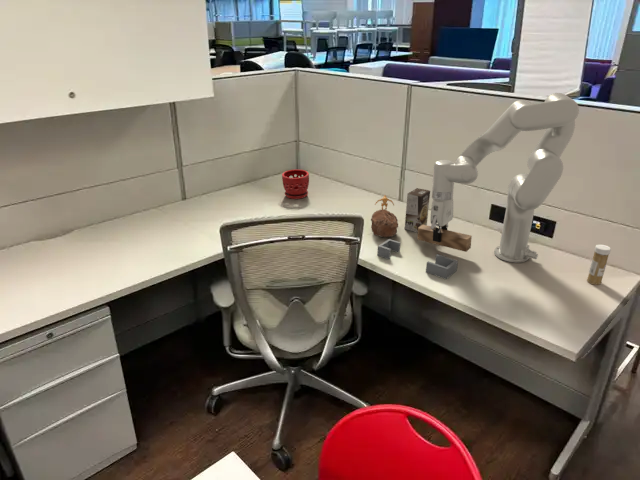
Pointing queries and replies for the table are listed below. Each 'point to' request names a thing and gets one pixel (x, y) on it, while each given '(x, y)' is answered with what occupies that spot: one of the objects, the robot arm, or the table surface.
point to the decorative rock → (384, 223)
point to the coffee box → (417, 209)
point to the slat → (446, 238)
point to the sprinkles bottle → (598, 264)
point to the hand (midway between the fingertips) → (439, 238)
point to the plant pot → (295, 183)
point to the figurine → (384, 201)
